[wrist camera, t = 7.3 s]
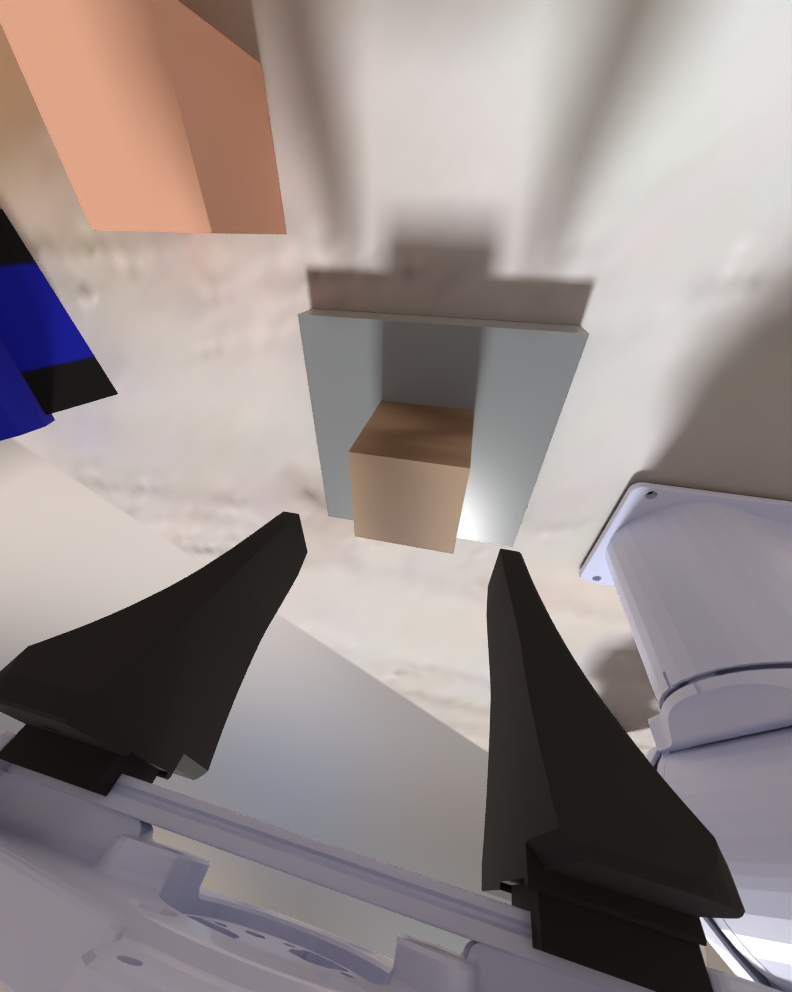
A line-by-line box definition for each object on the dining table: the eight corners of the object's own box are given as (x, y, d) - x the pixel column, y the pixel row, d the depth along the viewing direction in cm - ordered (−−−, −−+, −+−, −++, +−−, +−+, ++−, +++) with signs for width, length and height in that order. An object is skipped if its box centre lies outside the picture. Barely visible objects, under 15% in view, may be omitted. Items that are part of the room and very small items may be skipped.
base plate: (580, 325, 14) (589, 333, 12) (511, 529, 21) (512, 546, 20) (311, 308, 15) (297, 314, 14) (336, 502, 23) (328, 516, 22)
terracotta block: (262, 65, 11) (144, -26, 7) (287, 234, 14) (212, 233, 10) (149, 71, 12) (-14, -8, 8) (195, 231, 15) (91, 229, 11)
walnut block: (474, 410, 15) (470, 468, 11) (460, 486, 18) (453, 553, 14) (381, 400, 16) (348, 452, 12) (381, 475, 19) (354, 536, 15)
